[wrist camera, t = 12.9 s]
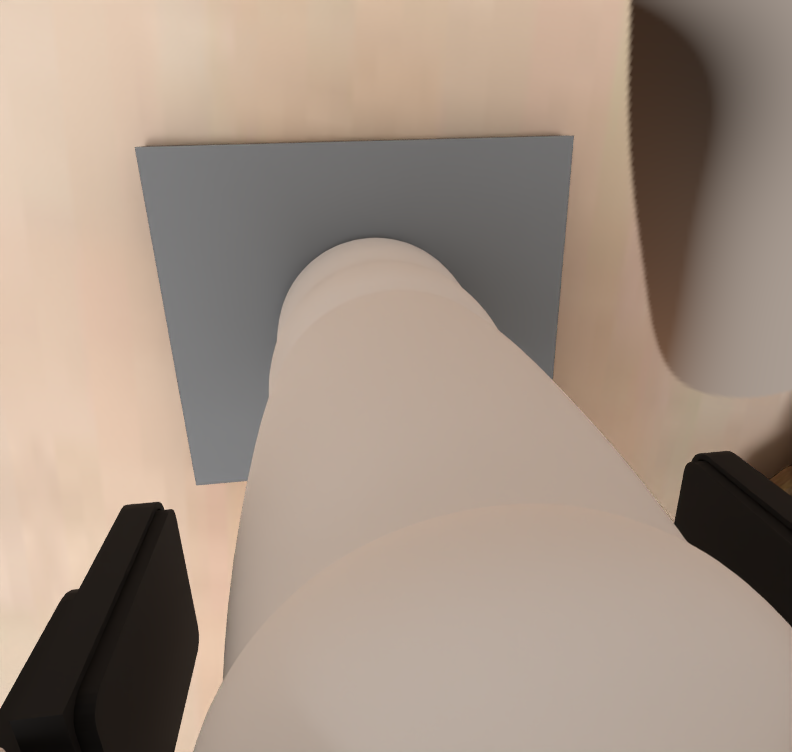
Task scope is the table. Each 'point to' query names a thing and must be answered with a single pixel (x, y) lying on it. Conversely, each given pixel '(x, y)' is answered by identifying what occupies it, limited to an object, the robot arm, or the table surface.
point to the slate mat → (326, 228)
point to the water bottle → (466, 552)
